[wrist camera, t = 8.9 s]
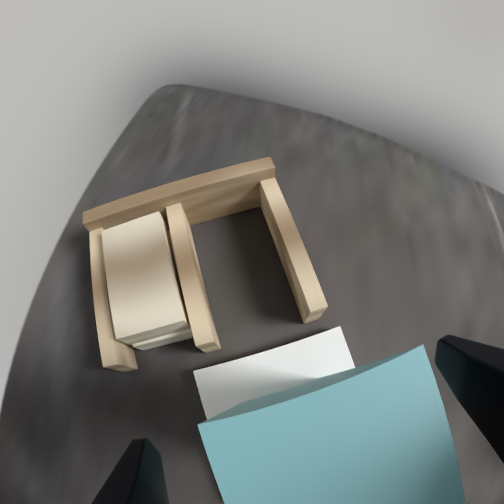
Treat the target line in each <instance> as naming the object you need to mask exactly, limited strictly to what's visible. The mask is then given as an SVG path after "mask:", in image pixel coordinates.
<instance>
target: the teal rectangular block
mask: <svg viewBox="0 0 504 504" xmlns="http://www.w3.org/2000/svg"><path fill="white" fill-rule="evenodd" d="M198 428H199V431H200V434H201V438H202V441H203V444H204V447H205V450H206V453H207V456H208V459H209V462H210V465H211V468H212V471H213V473H214V476H215V479H216V482H217V485H218V487H219V490H220V493H221V495H222V498H223V501H224V503H225V504H462V503H464V502H465V497H464V491H463V486H462V480H461V475H460V470H459V465H458V461H457V456H456V452H455V447H454V443H453V439H452V435H451V431H450V428H449V424H448V420H447V417H446V413H445V410H444V406H443V403H442V399H441V396H440V393H439V390H438V387H437V383H436V380H435V377H434V374H433V371H432V368H431V365H430V363H429V360H428V357H427V354H426V351H425V349H424V346H423V345H420V346H418V347H415V348H412V349H410V350H407V351H404V352H401V353H399V354H396V355H393V356H390V357H387V358H384V359H381V360H378V361H375V362H372V363H369V364H366V365H363V366H359V367H356V368H353V369H349V370H346V371H342V372H339V373H335V374H332V375H328V376H324V377H321V378H317V379H314V380H312V381H309V382H306V383H303V384H300V385H297V386H294V387H291V388H288V389H285V390H282V391H279V392H275V393H272V394H269V395H265V396H262V397H259V398H255V399H252V400H248V401H244V402H242V403H240V404H238V405H236V406H234V407H232V408H230V409H228V410H226V411H224V412H222V413H220V414H218V415H216V416H214V417H212V418H210V419H208V420H206V421H204V422H202V423H200V424H198Z"/></svg>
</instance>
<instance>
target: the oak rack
mask: <svg viewBox="0 0 504 504" xmlns="http://www.w3.org/2000/svg"><path fill="white" fill-rule="evenodd" d="M257 207H261V209H262V211H263V214H264V216H265V219H266V222H267V224H268V227H269V230H270V232H271V235H272V238H273V240H274V243H275V246H276V249H277V251H278V254H279V257H280V259H281V262H282V265H283V268H284V270H285V273H286V276H287V279H288V281H289V284H290V287H291V290H292V292H293V295H294V298H295V301H296V304H297V306H298V309H299V312H300V315H301V318H302V320H303V323H304V324H305V323H308V322H311V321H314V320H317V319H319V318H320V316H321V315H322V314H323V312H324V311H325V309H326V308H327V307H328V305H327V303H326V300H325V298H324V295H323V292H322V290H321V287H320V285H319V282H318V280H317V277H316V274H315V272H314V269H313V267H312V264H311V262H310V259H309V257H308V255H307V252H306V250H305V247H304V245H303V242H302V240H301V237H300V235H299V233H298V230H297V228H296V225H295V223H294V221H293V218H292V216H291V214H290V211H289V209H288V207H287V204H286V202H285V200H284V197H283V195H282V193H281V190H280V188H279V186H278V184H277V181H276V179H275V166H274V164H273V162H272V160H271V158H270V157H266V158H262V159H258V160H254V161H249V162H245V163H241V164H237V165H233V166H229V167H225V168H222V169H218V170H214V171H210V172H207V173H203V174H199V175H196V176H192V177H189V178H185V179H182V180H178V181H175V182H172V183H168V184H165V185H162V186H159V187H155V188H152V189H149V190H146V191H143V192H140V193H137V194H133V195H130V196H127V197H124V198H121V199H119V200H116V201H113V202H110V203H107V204H104V205H101V206H99V207H96V208H93V209H90V210H88V211H85V212H83V225H84V226H85V228H86V229H87V230H88V231H89V234H90V260H91V276H92V289H93V299H94V309H95V318H96V325H97V333H98V340H99V346H100V353H101V359H102V364H103V367H105V368H109V369H113V370H118V371H122V372H126V371H131V370H136V369H138V367H137V363H136V358H135V353H134V348H133V345H129V344H127V343H124V342H122V341H119V340H117V339H116V337H115V331H114V326H113V320H112V314H111V308H110V301H109V295H108V288H107V280H106V272H105V263H104V254H103V243H102V231H103V230H106V229H109V228H112V227H114V226H117V225H120V224H123V223H126V222H129V221H131V220H134V219H137V218H140V217H143V216H146V215H149V214H152V213H155V212H158V211H159V212H160V214H161V216H162V218H163V220H164V222H165V224H166V225H167V228H168V230H170V233H171V238H172V244H173V249H174V254H175V259H176V264H177V268H178V273H179V278H180V283H181V287H182V292H183V296H184V300H185V305H186V309H187V313H188V318H189V322H190V326H191V330H192V334H193V338H194V342H195V346H196V347H198V348H199V349H201V350H202V351H203V352H205V353H208V352H212V351H215V350H219V349H221V346H220V343H219V339H218V335H217V332H216V328H215V325H214V321H213V317H212V313H211V310H210V306H209V302H208V298H207V294H206V290H205V286H204V282H203V278H202V274H201V270H200V266H199V262H198V258H197V254H196V250H195V246H194V241H193V237H192V233H191V228H190V226H192V225H196V224H199V223H203V222H206V221H210V220H213V219H217V218H220V217H224V216H227V215H231V214H235V213H238V212H242V211H246V210H250V209H253V208H257Z"/></svg>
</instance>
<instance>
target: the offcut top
mask: <svg viewBox="0 0 504 504" xmlns="http://www.w3.org/2000/svg"><path fill="white" fill-rule="evenodd" d="M102 243H103V254H104V263H105V272H106V280H107V288H108V295H109V301H110V308H111V314H112V320H113V326H114V331H115V337H116V339H117V340H119V341H122V342H124V343H127V344H129V345H132V344H135V343H139V342H143V341H147V340H150V339H154V338H158V337H161V336H165V335H168V334H172V333H175V332H179V331H182V330H186V329H189V328H191V326H190V322H189V318H188V313H187V309H186V305H185V300H184V296H183V292H182V288H181V284H180V280H179V276H178V272H177V268H176V263H175V259H174V255H173V250H172V246H171V241H170V237H169V232H168V228H167V225H166V224H165V222H164V220H163V218H162V216H161V214H160V212H159V211H158V212H155V213H152V214H149V215H146V216H143V217H140V218H137V219H134V220H131V221H129V222H126V223H123V224H120V225H117V226H114V227H112V228H109V229H106V230H103V231H102Z"/></svg>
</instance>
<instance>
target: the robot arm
mask: <svg viewBox="0 0 504 504" xmlns="http://www.w3.org/2000/svg"><path fill="white" fill-rule="evenodd" d="M435 364H436V366H437V368H438V369H439V371H440V372H441V374H442V376H443V377H444V379H445V381H446V382H447V384H448V385H449V387H450V389H451V390H452V392H453V394H454V395H455V397H456V398H457V400H458V401H459V403H460V404H461V405H462V407H463V408H464V409H465V411H466V412H467V413H468V414H469V416H470V417H471V418H472V420H473V421H474V423H475V424H476V425H477V427H478V428H479V429H480V431H481V432H482V433H483V435H484V436H485V438H486V439H487V440H488V442H489V443H490V445H491V446H492V447H493V449H494V450H495V452H496V453H497V454H498V456H499V457H500V459H501V460H502V462H503V463H504V349H501V348H497V347H493V346H490V345H486V344H482V343H478V342H475V341H471V340H467V339H463V338H460V337H456V336H452V335H446V336H444V337H442V338H441V339H439V340H438V342H437V346H436V353H435ZM92 504H169V501H168V494H167V489H166V483H165V478H164V472H163V466H162V459H161V456H160V453H159V452H158V450H157V449H156V448H155V447H154V445H153V444H152V443H151V442H150V440H149V439H148V438H145V437H144V438H137V439H134V440H132V442H131V443H130V445H129V446H128V448H127V449H126V451H125V453H124V454H123V456H122V457H121V459H120V460H119V462H118V463H117V465H116V466H115V468H114V470H113V471H112V473H111V474H110V476H109V477H108V479H107V480H106V482H105V483H104V485H103V487H102V488H101V490H100V491H99V493H98V494H97V496H96V497H95V499H94V501H93V502H92Z"/></svg>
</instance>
